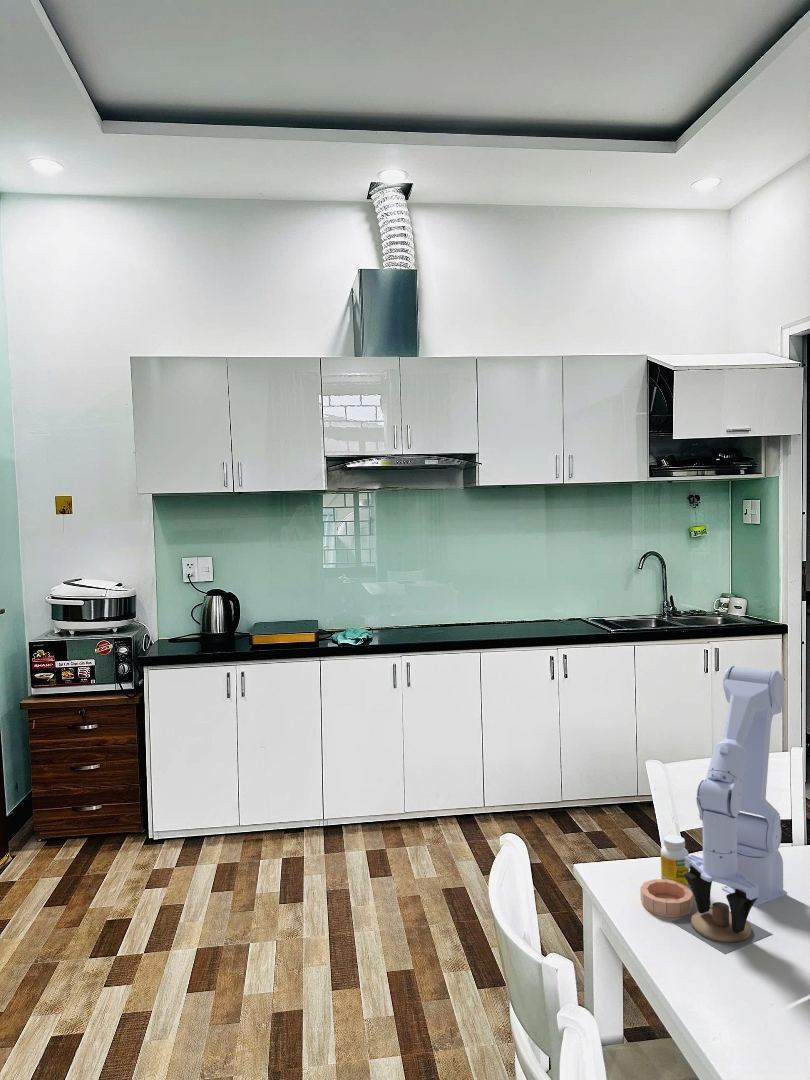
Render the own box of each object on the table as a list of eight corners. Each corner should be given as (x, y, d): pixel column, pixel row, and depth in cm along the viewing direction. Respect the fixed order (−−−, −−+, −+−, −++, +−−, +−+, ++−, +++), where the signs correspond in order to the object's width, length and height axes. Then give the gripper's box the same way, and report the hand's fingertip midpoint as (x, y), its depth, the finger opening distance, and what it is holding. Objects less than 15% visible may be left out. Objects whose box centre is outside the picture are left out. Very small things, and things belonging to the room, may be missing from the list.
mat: (717, 906, 150) (717, 904, 150) (772, 936, 140) (772, 934, 140) (671, 923, 145) (671, 921, 145) (724, 956, 134) (724, 953, 134)
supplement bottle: (672, 876, 163) (672, 830, 162) (695, 886, 158) (694, 839, 158) (655, 884, 160) (654, 837, 159) (677, 894, 155) (676, 846, 155)
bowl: (666, 890, 157) (665, 875, 157) (702, 910, 149) (702, 894, 149) (631, 902, 153) (630, 886, 153) (667, 923, 145) (666, 907, 145)
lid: (717, 908, 149) (717, 887, 149) (763, 933, 140) (763, 911, 140) (679, 922, 144) (679, 901, 144) (724, 949, 136) (724, 926, 135)
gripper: (672, 837, 146) (673, 909, 147) (738, 868, 133) (739, 946, 134) (699, 829, 150) (700, 899, 150) (766, 858, 137) (767, 935, 137)
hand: (720, 921), depth 142 cm, fingers open, 7 cm apart
